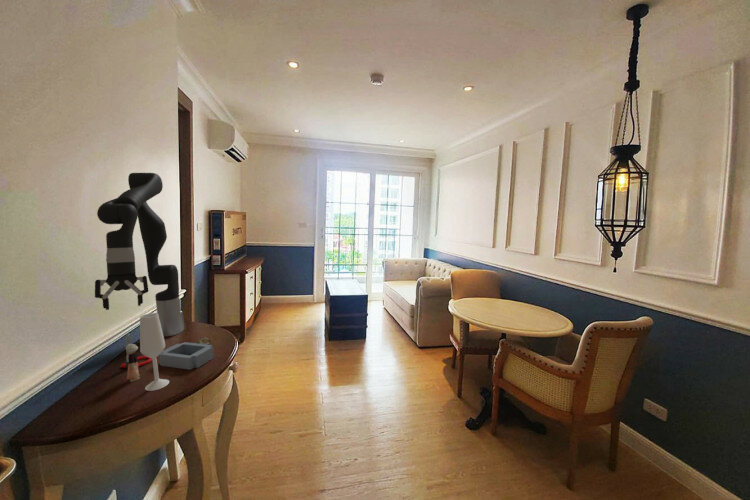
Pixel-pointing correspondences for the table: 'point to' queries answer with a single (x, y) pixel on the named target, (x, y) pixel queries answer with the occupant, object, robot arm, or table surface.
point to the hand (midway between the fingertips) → (123, 307)
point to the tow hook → (137, 357)
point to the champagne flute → (152, 346)
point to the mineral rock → (203, 341)
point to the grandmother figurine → (132, 363)
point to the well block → (186, 355)
